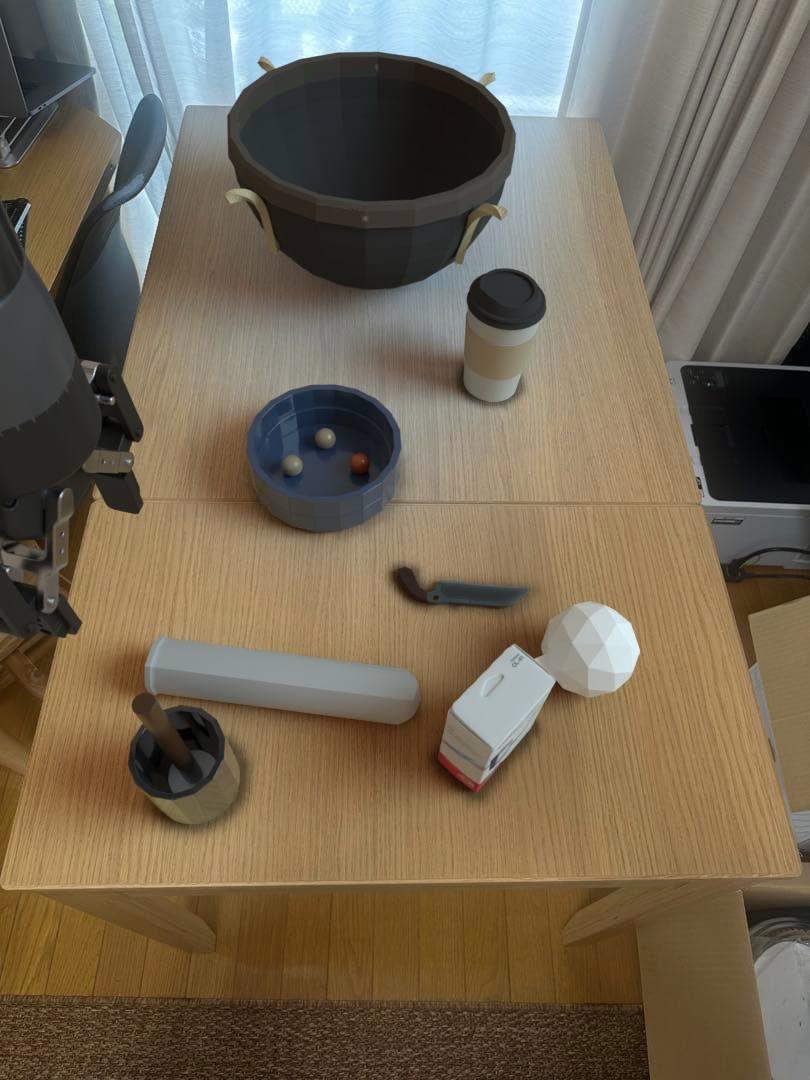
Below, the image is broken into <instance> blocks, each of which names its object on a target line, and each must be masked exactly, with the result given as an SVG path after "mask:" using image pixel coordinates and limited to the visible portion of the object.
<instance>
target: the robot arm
mask: <svg viewBox="0 0 810 1080" xmlns="http://www.w3.org/2000/svg"><path fill="white" fill-rule="evenodd" d="M5 206H6V205H4V201H3V199H2V197H1V196H0V633H2V634H6V635H9V636H14V637H16V638H18V639H23V640H30V639H31V638H33V637H34V635H35V633H39V634H43V635H48V636H52V637H57V638H61V639H66V638H67V635H71V636H77V635H78V633H79V631H80V629H81V627H82V625H83V621H82V620H81V618H79V615H78V614H77V613H76V611H75V610H74V609H73V607H72V606H71V604H70V603H69V602H68V600H67V599H66V598H65V596H64V594H61V593H60V570H62V569H63V568H66V566H67V565H68V563H69V545H70V544H69V543H70V541H69V540H70V539H69V537H70V536H69V535H70V534H69V533H70V527H71V525H72V523H73V522H74V519H75V516H76V515H77V511H78V509H79V507H80V506H81V505H82V504H83V502H84V501H85V500H86V498H87V497H88V495H89V494H90V492H91V490H92V488H93V484H92V480H93V482H94V484H95V486H96V488H97V490H98V493H100V496H101V498H102V500H103V501H104V504H105V505H106V507H107V508H108V509H111V510H114V511H118V512H122V513H126V514H132V515H138V514H140V512H141V510H142V509H143V506H144V504H145V503H144V501H143V498H142V495H141V487H140V484H139V482H138V480H137V479H138V478H137V477H136V475H135V473H134V470H133V467H134V463H135V456H134V453H133V452H131V451H130V450H131V447H132V445H133V443H140V442H141V441H142V438H143V437H144V431H145V428H144V424H143V421H142V419H141V417H140V415H139V412H138V410H137V408H136V405H135V403H134V401H133V398H132V396H131V394H130V393H129V390H128V387H127V386H126V382H125V380H124V379H123V376H122V374H121V372H120V369H119V368H118V366H116V365H113V364H108V363H103V362H98V361H93V360H87V359H84V358H83V359H82V358H79V356H78V353H77V352H76V349H75V347H74V345H73V342H72V339H71V338H70V335H69V333H68V330H67V328H66V327H65V324H64V321H63V320H62V317H61V314H60V312H59V310H58V308H57V305H56V304H55V301H54V299H53V297H52V295H51V293H50V291H49V289H48V288H47V286H46V284H45V282H44V280H43V278H42V277H41V275H40V274H39V273H38V271H37V269H36V268H35V266H34V264H33V263H32V261H31V260H30V258H29V256H28V254H27V253H26V251H25V249H24V247H23V245H22V242H21V239H20V237H19V236H18V234H17V231H16V229H15V226H14V224H13V222H12V220H11V217H10V215H9V213H8V211H7V209H6V207H5ZM36 540H38V541H39V540H44V549H42V548H38V547H32V546H29V545H24V544H22V543H20V542H22V541H36ZM25 571H28V572H30V573H33V574H34V575H35V578H36V585H34V584H30V583H25V575H24V573H25Z"/></svg>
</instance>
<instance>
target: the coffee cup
mask: <svg viewBox="0 0 810 1080" xmlns="http://www.w3.org/2000/svg"><path fill="white" fill-rule="evenodd" d="M545 295H546V294H545V293H544V291H543V289H542V288H541V287H540V286H539V284H538V283H537V282H536V280H535V279H534V278H533V277H532V276H530V275H529V274H527V273H525V272H523V271H521V270H518V269H514V268H508V267H501V268H494V269H492V270H489V271H487V272H485V273H483V274H481V275H479V276H477V277H476V278H475V279H474V280H473V281H472V282H471V284H470V286H469V289H468V292H467V295H466V305H467V311H466V313H465V323H464V325H465V326H464V327H465V328H464V345H463V358H464V363H463V364H464V365H463V386H464V388H465V389H466V391H467V392H468V393H469V394H470V395H472V396H473V397H474V398H475V399H479V400H481V401H484V402H489V403H499V402H504V401H506V400H508V399H510V398H511V397H512V396H513V395H514V394H515V392H516V390H517V388H518V385H519V382H520V378H521V376H522V375H523V371H524V370H525V368H526V365H527V363H528V361H529V357H530V355H531V351H532V349H533V346H534V343H535V342H536V338H537V335H538V332H539V330H540V323H541V320H542V319H543V318H544V316H545V314H546V311H547V299H546V296H545Z"/></svg>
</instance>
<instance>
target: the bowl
mask: <svg viewBox="0 0 810 1080" xmlns="http://www.w3.org/2000/svg"><path fill="white" fill-rule="evenodd" d="M256 63H257V64H258V66H259V67H260V68H261V69H262V70H264V72H265V73H263V74H262V75H261V76H259V77H258V78H257V79H255V80H254V81H252V83H249V84H248V86H247V85H246V87H245V88H243V89H242V90H241V92H240V93H239V95H238V97H237V99H236V101H235V102H234V103H233V104H232V106H231V109H230V110H229V112H228V114H227V115H226V123H227V125H226V127H227V128H226V129H227V132H226V133H227V158H228V160H229V161H230V163H231V164H232V166H233V169H234V173H235V177H236V181H237V184H238V186H239V188H233V189H229V190H228V191H226V192H225V193H224V194H223V195H222V198H223V199H224V201H225V202H226V204H227V205H232V204H236V203H240V202H246V204H247V206H248V207H249V209H250V211H251V213H252V214H253V215H254V217H255V219H256V220H257V222H258V223H259V226H260V227H261V229H262V230H263V232H264V234H265V238H266V241H267V245H268V249H269V254H273V255H278V254H279V252H281V253H283V254H284V255H285V256H287V257H288V259H290V260H291V261H293V262H294V263H296V264H297V265H298V266H299V267H301V268H302V269H303V270H305V271H307V272H308V274H311V275H313V276H315V277H317V278H320V279H323V280H325V281H327V282H330V283H332V284H335V285H338V286H342V287H345V288H353V289H357V290H364V291H376V290H377V291H378V290H393V289H398V288H401V287H404V286H408V285H412V284H415V283H419V282H423V281H425V280H427V279H428V278H429V277H431V276H433V275H434V274H437V273H438V272H440V271H441V270H444V269H445V268H446V267H448V266H449V265H451V264H453V263H454V264H457V265H463V263H464V260H465V256H466V253H467V250H468V249H469V248H470V247H471V245H472V244H473V243H474V242H475V241H476V239H477V238H478V237H479V235H480V234H481V233H482V232H483V231H484V229H485V227H486V226H487V225H488V223H489V222H490V220H491V219H492V217H495V218H496V219H498V220H499V221H501V222H502V221H503V220H505V218H506V217H507V216H508V215H509V212H508V210H507V208H506V207H505V206H503V205H499V203H500V201H501V199H502V196H503V193H504V189H505V184H506V181H507V179H508V178H509V177H510V176H511V173H512V168H513V163H514V158H515V152H516V142H517V140H516V139H517V132H516V129H515V127H514V124H513V122H512V120H511V117H510V115H509V112H508V110H507V107H506V106H505V105H504V104H503V103H502V101H500V100H499V99H498V97H496V96H495V95H494V94H493V93H492V92H491V91H490V90H489V89H488V87H487V86H489V85H490V84H491V83H494V82H495V81H496V72H494V71H493V72H486V73H484V74H483V75H482V76H481V78H480V79H479V80H478V81H477V80H476V79H473V78H472V77H469V75H468V76H467V75H466V74H464V73H462V72H460V71H459V70H457V69H456V68H453V67H450V66H447V65H443V64H440V63H437V62H434V61H431V60H427V59H425V58H424V59H423V58H421V57H418V56H410V55H404V54H398V53H397V54H396V53H391V52H382V51H337V52H332V53H327V54H326V53H325V54H321V55H316V56H315V55H314V56H310V57H304V58H303V57H302V58H299V59H296V60H294V61H291V62H289V63H286V64H284V65H282V66H279V67H276V66H275V65H274V64H273V63H272V61H271V60H269V59H268V58H267V57H265V56H260V57H259V59H258V61H256Z"/></svg>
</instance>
